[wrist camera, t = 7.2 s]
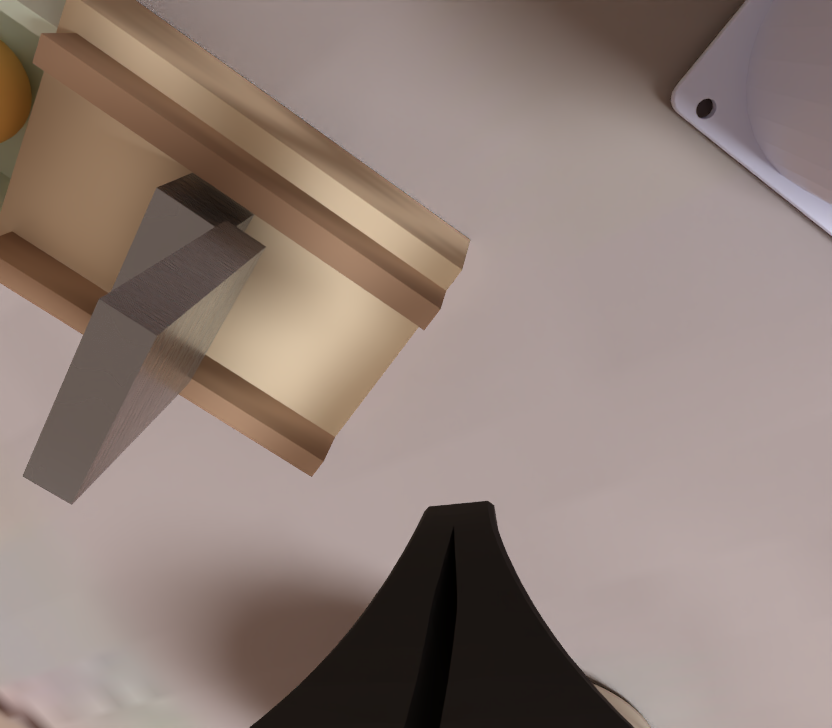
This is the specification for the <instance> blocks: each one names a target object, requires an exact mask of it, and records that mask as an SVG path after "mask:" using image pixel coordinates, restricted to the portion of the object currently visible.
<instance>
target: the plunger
mask: <svg viewBox="0 0 832 728" xmlns="http://www.w3.org/2000/svg"><path fill="white" fill-rule="evenodd" d="M253 216H254V214H253V213H252V212H250V211H249V210H247V209H246V208H244V207H243V206H241V205H240V204H238V203H237V202H235V201H234V200H232V199H231V198H230V197H228V196H227V195H225V194H224V193H222V192H221V191H219V190H218V189H216V188H215V187H213V186H212V185H210V184H209V183H208V182H206V181H205V180H203V179H202V178H200V177H199V176H197V175H196V174H194V173H190V174H188V175H185V176H183V177H181V178H178V179H176V180H173V181H171V182H169V183H166V184H164V185H161V186H159V187H157V188H156V190H155V192H154V194H153V197H152V199H151V201H150V203H149V206H148V208H147V210H146V212H145V215H144V217H143V219H142V222H141V224H140V226H139V228H138V231H137V233H136V235H135V238H134V240H133V242H132V244H131V247H130V249H129V251H128V253H127V256H126V258H125V260H124V263H123V265H122V267H121V269H120V272H119V274H118V276H117V279H116V281H115V283H114V285H113V288H112V290H111V292H109V293H108V294H106V295H104V296H103V297H101V298H100V299H99V300H98V302H97V304H96V307H95V309H94V311H93V314H92V316H91V318H90V321H89V323H88V325H87V328H86V330H85V332H84V335H83V337H82V339H81V342H80V344H79V346H78V348H77V351H76V353H75V355H74V358H73V360H72V362H71V365H70V367H69V369H68V372H67V374H66V376H65V379H64V381H63V383H62V386H61V388H60V390H59V393H58V395H57V397H56V400H55V402H54V404H53V407H52V409H51V411H50V414H49V416H48V418H47V420H46V423H45V425H44V427H43V430H42V432H41V434H40V437H39V439H38V441H37V444H36V446H35V448H34V451H33V453H32V455H31V458H30V460H29V462H28V465H27V467H26V469H25V472H24V474H23V477H25V478H26V479H28V480H30V481H32V482H33V483H35V484H37V485H39V486H40V487H42V488H44V489H46V490H47V491H49V492H51V493H52V494H54V495H56V496H58V497H59V498H61V499H63V500H65V501H66V502H68V503H70V504H71V505H72V504H73V503H74V502H75V501H76V500H77V499H78V498H79V497H80V496H81V495H82V494H83V493H84V492H85V491H86V489H87V488H88V487H89V486H90V485H91V484H92V483H93V482H94V481H95V480H96V479H97V478H98V477H99V476H100V475H101V474H102V473H103V472H104V471H105V470H106V469H107V468H108V467H109V466H110V465H111V464H112V463H113V462H114V460H115V459H116V458H117V457H118V456H119V455H120V454H121V453H122V452H123V451H124V450H125V449H126V448H127V447H128V446H129V445H130V444H131V443H132V442H133V441H134V440H135V439H136V438H137V437H138V436H139V435H140V434H141V433H142V431H143V430H144V429H145V428H146V427H147V426H148V425H149V424H150V423H151V422H152V421H153V420H154V419H155V418H156V417H157V416H158V415H159V414H160V413H161V412H162V411H163V410H164V409H165V408H166V407H167V406H168V405H169V404H170V402H171V401H172V400H173V399H174V398H175V397H176V396H177V395H178V394H179V393H180V392H181V391H182V390H183V389H184V388H185V387H186V386H187V385H188V384H189V383H190V381H191V379H192V377H193V376H194V374H195V372H196V370H197V368H198V367H199V365H200V363H201V361H202V360H203V358H204V356H205V354H206V352H207V351H208V349H209V347H210V345H211V344H212V342H213V340H214V338H215V337H216V335H217V333H218V331H219V329H220V328H221V326H222V324H223V322H224V321H225V319H226V317H227V315H228V313H229V312H230V310H231V308H232V306H233V305H234V303H235V301H236V299H237V297H238V296H239V294H240V292H241V290H242V289H243V287H244V285H245V283H246V282H247V280H248V278H249V276H250V274H251V273H252V271H253V269H254V267H255V266H256V264H257V262H258V260H259V258H260V257H261V255H262V253H263V251H264V250H265V248H266V246H264V245H263V244H261V243H260V242H258V241H257V240H255V239H254V238H253V237H251V236H250V235H248V234H247V233H245V231H246V229H247V227H248V225H249V223H250V221H251V220H252V218H253Z"/></svg>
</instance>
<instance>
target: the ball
mask: <svg viewBox="0 0 832 728" xmlns="http://www.w3.org/2000/svg"><path fill="white" fill-rule="evenodd" d="M31 104H32V92H31V86H30V81H29V78H28V76H27V73H26V71H25V69H24V67H23V65H22V63H21V62H20V60H19V59H18V57H17V56H16V55H15V54H14V52H13V51H12V50H11V49H10V48H9V47H8V46H7V45H6V44H5V43H4V42H3V41H2V40H0V143H2V142H4V141H6V140H8V139H10V138H11V137H13V136H14V135H15V134H16V133H17V132H18V131H19V130H20V129H21V128H22V127H23V125H24V124H25V122H26V121H27V118H28V116H29V113H30V110H31Z"/></svg>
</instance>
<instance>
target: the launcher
mask: <svg viewBox="0 0 832 728" xmlns="http://www.w3.org/2000/svg"><path fill="white" fill-rule="evenodd" d="M32 63H33V64H35V65H36V66H38V67H39V68H40V69H42V70H43V71H44V73H43V76H42V79H41V83H40V86H39V89H38V92H37V96H36V99H35V102H34V105H33V108H32V112H31V115H30V118H29V121H28V125H27V128H26V131H25V134H24V138H23V141H22V144H21V147H20V150H19V154H18V157H17V160H16V163H15V167H14V170H13V173H12V176H11V179H10V183H9V186H8V189H7V192H6V196H5V199H4V202H3V205H2V209H1V212H0V283H1V284H3V285H4V286H6V287H7V288H9V289H11V290H12V291H14V292H15V293H17V294H19V295H20V296H22V297H24V298H25V299H27V300H28V301H30V302H32V303H33V304H35V305H36V306H38V307H40V308H41V309H43V310H44V311H46V312H48V313H49V314H51V315H52V316H54V317H56V318H57V319H59V320H60V321H62V322H64V323H65V324H67V325H68V326H70V327H72V328H73V329H75V330H77V331H78V332H80V333H81V334H83V335H84V332H85V330H86V328H87V325H88V323H89V321H90V318H91V316H92V314H93V311H94V309H95V307H96V304H97V302H98V300H99V299H100V298H101V297H103V296H104V295H106V294H108V293H109V292H111V290H112V288H113V285H114V283H115V281H116V279H117V276H118V274H119V272H120V269H121V267H122V265H123V263H124V260H125V258H126V256H127V253H128V251H129V249H130V247H131V244H132V242H133V240H134V238H135V235H136V233H137V231H138V228H139V226H140V224H141V222H142V219H143V217H144V215H145V212H146V210H147V208H148V206H149V203H150V201H151V199H152V197H153V194H154V192H155V190H156V188H157V187H159V186H161V185H164V184H166V183H169V182H171V181H173V180H176V179H178V178H181V177H183V176H185V175H188V174H190V173H194V174H196V175H197V176H199V177H200V178H202V179H203V180H205V181H206V182H208V183H209V184H210V185H212V186H213V187H215V188H216V189H218V190H219V191H221V192H222V193H224V194H225V195H227V196H228V197H230V198H231V199H232V200H234V201H235V202H237V203H238V204H240V205H241V206H243V207H244V208H246V209H247V210H249V211H250V212H252V213H253V214H254V216H253V218H252V220H251V221H250V223H249V225H248V227H247V229H246V231H245V233H247V234H248V235H250V236H251V237H253V238H254V239H255V240H257V241H258V242H260V243H261V244H263V245H264V246H266V248H265V250H264V251H263V253H262V255H261V257H260V258H259V260H258V262H257V264H256V266H255V267H254V269H253V271H252V273H251V274H250V276H249V278H248V280H247V282H246V283H245V285H244V287H243V289H242V290H241V292H240V294H239V296H238V297H237V299H236V301H235V303H234V305H233V306H232V308H231V310H230V312H229V313H228V315H227V317H226V319H225V321H224V322H223V324H222V326H221V328H220V329H219V331H218V333H217V335H216V337H215V338H214V340H213V342H212V344H211V345H210V347H209V349H208V351H207V352H206V354H205V356H204V358H203V360H202V361H201V363H200V365H199V367H198V368H197V370H196V372H195V374H194V376H193V377H192V379H191V381H190V383H189V384H188V385H187V386H186V387H185V388H184V389H183V390H182V391H181V392H180V393H179V395H181V396H183V397H184V398H186V399H187V400H189V401H191V402H192V403H194V404H195V405H197V406H199V407H200V408H202V409H203V410H205V411H207V412H208V413H210V414H211V415H213V416H215V417H216V418H218V419H219V420H221V421H223V422H224V423H226V424H227V425H229V426H231V427H232V428H234V429H236V430H237V431H239V432H240V433H242V434H244V435H245V436H247V437H248V438H250V439H252V440H253V441H255V442H256V443H258V444H260V445H261V446H263V447H264V448H266V449H268V450H269V451H271V452H272V453H274V454H276V455H277V456H279V457H280V458H282V459H284V460H285V461H287V462H289V463H290V464H292V465H293V466H295V467H297V468H298V469H300V470H301V471H303V472H305V473H306V474H308V475H309V476H311V477H312V476H313V474H314V473H315V472H316V470H317V469H318V468H319V467H320V465H321V464H322V463H323V461H324V459H325V457H326V455H327V453H328V451H329V449H330V447H331V444H332V442H333V440H334V438H335V436H336V435H337V434H338V432H339V431H340V430H341V429H342V427H343V426H344V425H345V423H346V422H347V421H348V419H349V418H350V417H351V415H352V414H353V413H354V411H355V410H356V409H357V407H358V406H359V405H360V404H361V402H362V401H363V400H364V398H365V397H366V396H367V394H368V393H369V392H370V390H371V389H372V388H373V386H374V385H375V384H376V382H377V381H378V380H379V379H380V377H381V376H382V375H383V373H384V372H385V371H386V369H387V368H388V367H389V365H390V364H391V363H392V361H393V360H394V359H395V357H396V356H397V355H398V353H399V352H400V351H401V350H402V348H403V347H404V346H405V344H406V343H407V342H408V340H409V339H410V338H411V336H412V335H413V334H414V332H415V331H416V330H417V328H418V327H420V328H422V329H423V330H425V328H426V327H427V326H428V325H429V323H430V322H431V321H432V319H433V318H434V317H435V315H436V314H437V313H438V312H439V310H440V309H441V306H442V302H443V299H444V296H445V293H446V290H447V289H448V288H449V286H450V285H451V284H452V282H453V281H454V280H455V278H456V277H457V276H458V275H459V273H460V272H461V271H462V268H463V265H464V261H465V257H466V254H467V250H468V246H469V243H470V239H468V238H467V237H465V236H464V235H463V234H461V233H460V232H458V231H457V230H456V229H454V228H453V227H451V226H450V225H449V224H447V223H446V222H444V221H443V220H442V219H440V218H439V217H438V216H436V215H435V214H433V213H432V212H431V211H429V210H428V209H426V208H425V207H424V206H422V205H421V204H419V203H418V202H417V201H415V200H414V199H412V198H411V197H410V196H408V195H407V194H405V193H404V192H403V191H401V190H400V189H398V188H397V187H396V186H394V185H393V184H391V183H390V182H389V181H387V180H386V179H384V178H383V177H382V176H380V175H379V174H377V173H376V172H375V171H373V170H372V169H370V168H369V167H368V166H366V165H365V164H364V163H362V162H361V161H359V160H358V159H357V158H355V157H354V156H352V155H351V154H350V153H348V152H347V151H345V150H344V149H343V148H341V147H340V146H338V145H337V144H336V143H334V142H333V141H331V140H330V139H329V138H327V137H326V136H324V135H323V134H322V133H320V132H319V131H317V130H316V129H315V128H313V127H312V126H310V125H309V124H308V123H306V122H305V121H303V120H302V119H301V118H299V117H298V116H296V115H295V114H294V113H292V112H291V111H289V110H288V109H287V108H285V107H284V106H283V105H281V104H280V103H278V102H277V101H276V100H274V99H273V98H271V97H270V96H269V95H267V94H266V93H264V92H263V91H262V90H260V89H259V88H257V87H256V86H255V85H253V84H252V83H250V82H249V81H248V80H246V79H245V78H243V77H242V76H241V75H239V74H238V73H236V72H235V71H234V70H232V69H231V68H229V67H228V66H227V65H225V64H224V63H222V62H221V61H220V60H218V59H217V58H215V57H214V56H213V55H211V54H210V53H208V52H207V51H206V50H204V49H203V48H202V47H200V46H199V45H197V44H196V43H195V42H193V41H192V40H190V39H189V38H188V37H186V36H185V35H183V34H182V33H181V32H179V31H178V30H176V29H175V28H174V27H172V26H171V25H169V24H168V23H167V22H165V21H164V20H162V19H161V18H160V17H158V16H157V15H155V14H154V13H153V12H151V11H150V10H148V9H147V8H146V7H144V6H143V5H141V4H140V3H139V2H137V1H136V0H66V2H65V5H64V8H63V12H62V15H61V18H60V21H59V25H58V28H57V31H56V33H41V35H40V39H39V42H38V45H37V49H36V52H35V55H34V59H33V62H32Z"/></svg>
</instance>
